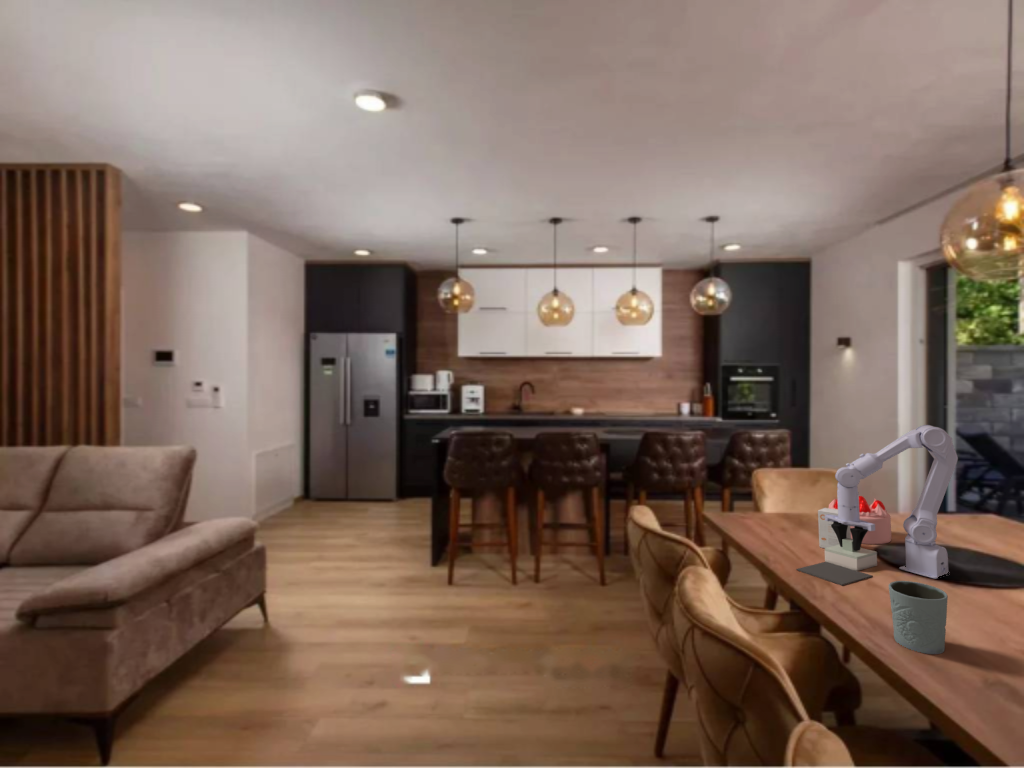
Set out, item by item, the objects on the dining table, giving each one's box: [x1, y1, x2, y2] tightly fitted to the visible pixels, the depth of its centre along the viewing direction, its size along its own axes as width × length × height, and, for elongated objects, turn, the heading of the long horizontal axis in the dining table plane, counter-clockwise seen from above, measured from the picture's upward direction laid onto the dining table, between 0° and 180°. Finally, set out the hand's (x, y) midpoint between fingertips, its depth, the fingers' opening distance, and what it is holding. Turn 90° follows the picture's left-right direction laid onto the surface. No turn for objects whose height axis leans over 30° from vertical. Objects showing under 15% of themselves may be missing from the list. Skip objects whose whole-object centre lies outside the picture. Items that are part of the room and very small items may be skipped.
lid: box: [824, 538, 878, 560], centre depth 159 cm, size 10×10×5 cm
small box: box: [817, 507, 851, 549], centre depth 175 cm, size 8×6×13 cm
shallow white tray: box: [824, 550, 878, 572], centre depth 159 cm, size 10×10×4 cm
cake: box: [827, 495, 892, 545], centre depth 186 cm, size 20×20×14 cm
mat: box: [795, 561, 873, 586], centre depth 151 cm, size 14×14×1 cm
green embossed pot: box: [888, 580, 949, 655], centre depth 109 cm, size 10×10×12 cm
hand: (850, 548), depth 159 cm, fingers open, 4 cm apart
